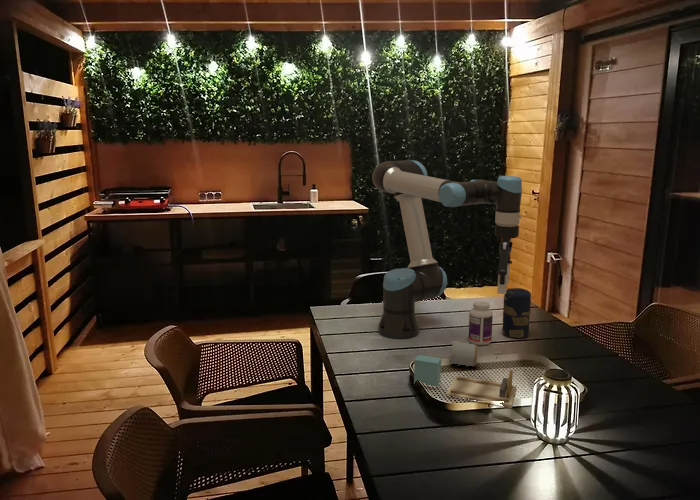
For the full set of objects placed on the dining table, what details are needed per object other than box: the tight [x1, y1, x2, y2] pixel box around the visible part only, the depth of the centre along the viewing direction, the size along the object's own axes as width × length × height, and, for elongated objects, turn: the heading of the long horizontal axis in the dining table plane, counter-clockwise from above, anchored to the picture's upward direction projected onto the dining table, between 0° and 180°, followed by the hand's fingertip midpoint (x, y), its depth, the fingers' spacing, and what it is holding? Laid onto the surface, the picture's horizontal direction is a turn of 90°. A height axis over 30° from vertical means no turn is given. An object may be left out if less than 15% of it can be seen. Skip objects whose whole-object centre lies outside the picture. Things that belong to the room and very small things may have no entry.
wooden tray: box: [445, 370, 517, 409], centre depth 158 cm, size 18×12×7 cm, turn 68°
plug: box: [413, 354, 442, 387], centre depth 164 cm, size 7×4×8 cm, turn 68°
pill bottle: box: [468, 300, 494, 346], centre depth 196 cm, size 8×8×14 cm
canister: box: [501, 287, 532, 339], centre depth 203 cm, size 10×10×18 cm
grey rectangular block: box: [450, 340, 479, 367], centre depth 179 cm, size 11×8×8 cm
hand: (503, 288), depth 183 cm, fingers open, 13 cm apart
